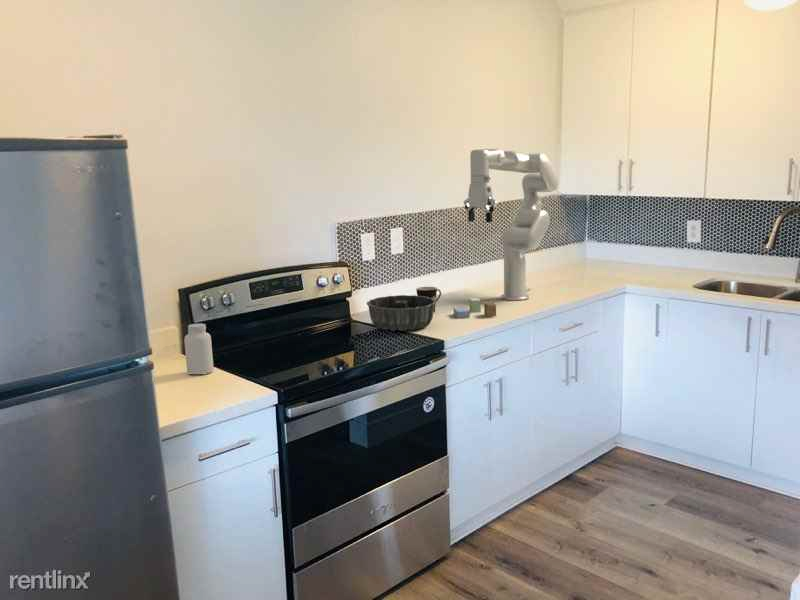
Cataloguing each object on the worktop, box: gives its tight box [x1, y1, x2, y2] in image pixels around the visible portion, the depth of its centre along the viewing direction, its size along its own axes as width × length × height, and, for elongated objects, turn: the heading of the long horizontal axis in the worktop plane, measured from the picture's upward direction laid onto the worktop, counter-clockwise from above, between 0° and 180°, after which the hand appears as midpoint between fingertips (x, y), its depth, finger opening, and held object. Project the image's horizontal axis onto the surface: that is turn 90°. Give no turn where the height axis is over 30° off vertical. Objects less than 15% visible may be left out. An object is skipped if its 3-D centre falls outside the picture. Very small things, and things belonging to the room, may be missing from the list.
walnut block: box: [483, 301, 497, 318], centre depth 293 cm, size 6×4×5 cm, turn 5°
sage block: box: [468, 297, 482, 313], centre depth 303 cm, size 6×4×5 cm, turn 5°
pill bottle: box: [183, 323, 214, 374], centre depth 225 cm, size 8×8×15 cm
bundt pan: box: [366, 294, 437, 332], centre depth 279 cm, size 26×26×10 cm
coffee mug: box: [415, 286, 442, 313], centre depth 304 cm, size 12×9×10 cm
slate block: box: [453, 306, 471, 319], centre depth 295 cm, size 8×5×3 cm, turn 6°
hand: (480, 221), depth 304 cm, fingers open, 9 cm apart
